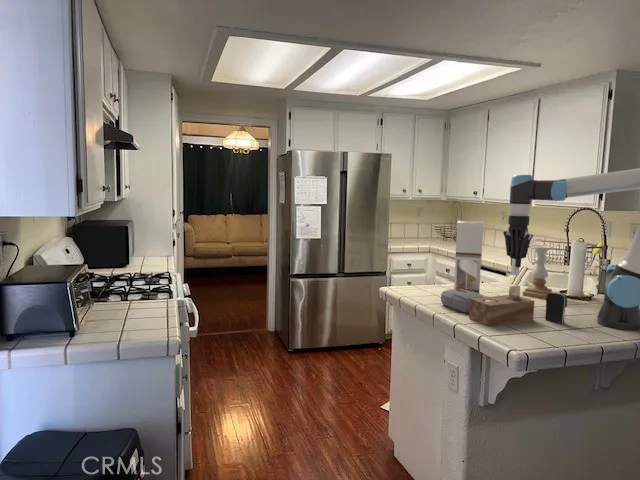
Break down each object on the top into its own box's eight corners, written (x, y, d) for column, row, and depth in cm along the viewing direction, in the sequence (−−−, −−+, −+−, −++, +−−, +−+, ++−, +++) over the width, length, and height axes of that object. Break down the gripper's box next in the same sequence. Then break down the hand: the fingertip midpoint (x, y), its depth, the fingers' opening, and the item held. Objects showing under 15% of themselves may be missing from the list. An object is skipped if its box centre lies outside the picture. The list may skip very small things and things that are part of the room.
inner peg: (521, 302, 189) (522, 286, 189) (513, 303, 188) (514, 287, 187) (513, 300, 193) (514, 284, 192) (506, 301, 192) (507, 285, 191)
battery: (566, 322, 187) (569, 293, 185) (561, 324, 184) (564, 294, 183) (549, 318, 192) (551, 290, 191) (544, 319, 190) (546, 291, 188)
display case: (453, 296, 226) (457, 222, 222) (454, 292, 236) (458, 220, 232) (479, 299, 223) (483, 223, 219) (479, 294, 233) (483, 221, 229)
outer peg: (497, 318, 185) (498, 302, 185) (488, 319, 184) (489, 302, 183) (489, 315, 189) (490, 299, 188) (481, 316, 187) (482, 300, 187)
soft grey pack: (435, 305, 211) (467, 316, 193) (436, 286, 210) (468, 296, 192) (462, 302, 217) (495, 313, 200) (463, 283, 216) (497, 293, 199)
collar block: (533, 320, 188) (534, 300, 187) (489, 326, 180) (490, 305, 179) (511, 313, 198) (513, 294, 197) (469, 318, 190) (470, 298, 189)
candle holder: (530, 292, 239) (534, 244, 236) (554, 295, 232) (557, 246, 229) (522, 295, 231) (525, 246, 229) (545, 299, 224) (549, 248, 221)
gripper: (540, 216, 182) (535, 277, 185) (513, 213, 194) (509, 271, 197) (525, 216, 179) (520, 278, 182) (499, 213, 191) (495, 272, 194)
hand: (514, 274), depth 189 cm, fingers closed
